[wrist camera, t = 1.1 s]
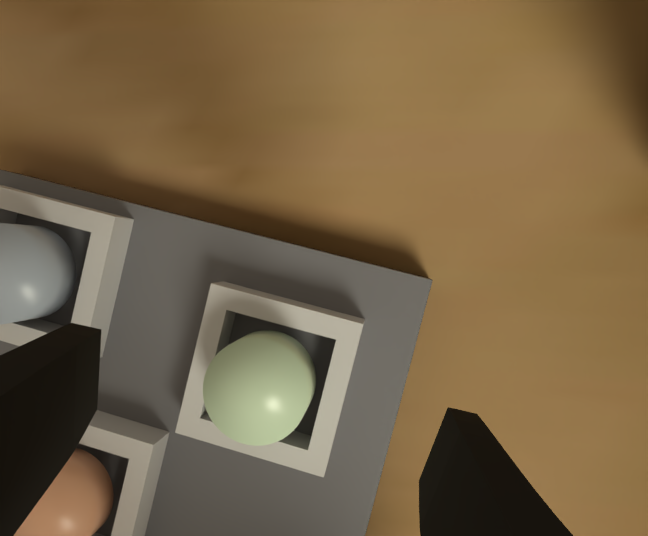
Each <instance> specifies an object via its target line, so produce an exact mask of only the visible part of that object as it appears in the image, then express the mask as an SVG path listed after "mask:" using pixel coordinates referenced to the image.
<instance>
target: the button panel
mask: <svg viewBox="0 0 648 536" xmlns="http://www.w3.org/2000/svg"><path fill="white" fill-rule="evenodd" d="M0 223H8V224H20V225H33V226H41V227H45V228H47V229H50V230H52V231H54V232H55V233H57V234H58V235H59V236H60V237H61V238H62V239H63V240H64V241H65V242H66V243H67V245H68V246H69V248H70V250H71V252H72V254H73V257H74V260H75V264H76V281H75V285H74V289H73V291H72V294H71V296H70V297H69V299H68V300H67V302H66V303H65V304H64V305H63V306H62V307H61V308H60V309H59V310H57V311H56V312H54V313H52V314H51V315H48V316H45V317H40V318H35V319H29V320H24V321H19V322H13V323H8V324H1V325H0V355H2V354H4V353H6V352H8V351H11V350H13V349H15V348H17V347H19V346H21V345H24V344H26V343H28V342H30V341H32V340H34V339H36V338H38V337H41V336H43V335H45V334H47V333H49V332H51V331H54V330H56V329H58V328H60V327H63V326H65V325H68V324H70V323H75V324H79V325H84V326H88V327H93V328H97V329H102V330H101V349H100V367H99V385H98V404H97V411H96V412H95V414H94V416H93V418H92V420H91V422H90V424H89V426H88V428H87V429H86V431H85V433H84V435H83V437H82V438H81V440H80V442H79V444H78V445H77V447H76V448H79V449H82V450H84V451H86V452H88V453H90V454H92V455H93V456H94V457H96V458H97V459H98V460H99V461H100V462H101V463H102V464H103V466H104V467H105V469H106V470H107V472H108V474H109V476H110V479H111V482H112V486H113V493H114V497H113V506H112V509H111V512H110V514H109V517H108V518H107V520H106V522H105V523H104V524H103V525H102V526H101V527H100V528H99V529H98V530H97V531H96V532H95V533H94V534H93V535H92V536H365V534H366V530H367V526H368V522H369V519H370V515H371V511H372V507H373V503H374V500H375V496H376V492H377V488H378V485H379V481H380V477H381V473H382V469H383V466H384V462H385V458H386V454H387V450H388V447H389V443H390V439H391V435H392V431H393V428H394V424H395V420H396V416H397V413H398V409H399V405H400V401H401V397H402V394H403V390H404V386H405V382H406V378H407V375H408V371H409V367H410V363H411V359H412V356H413V352H414V348H415V344H416V341H417V337H418V333H419V329H420V325H421V322H422V318H423V314H424V310H425V306H426V303H427V299H428V295H429V291H430V287H431V284H432V280H431V279H430V278H426V277H422V276H418V275H414V274H410V273H406V272H402V271H399V270H395V269H391V268H387V267H383V266H379V265H375V264H371V263H367V262H363V261H359V260H355V259H351V258H348V257H344V256H340V255H336V254H332V253H328V252H324V251H320V250H316V249H312V248H308V247H304V246H301V245H297V244H293V243H289V242H285V241H281V240H277V239H273V238H269V237H265V236H261V235H257V234H253V233H250V232H246V231H242V230H238V229H234V228H230V227H226V226H222V225H218V224H214V223H210V222H206V221H203V220H199V219H195V218H191V217H187V216H183V215H179V214H175V213H171V212H167V211H163V210H159V209H155V208H152V207H148V206H144V205H140V204H136V203H132V202H128V201H124V200H120V199H116V198H112V197H108V196H104V195H101V194H97V193H93V192H89V191H85V190H81V189H77V188H73V187H69V186H65V185H61V184H57V183H54V182H50V181H46V180H42V179H38V178H34V177H30V176H26V175H22V174H18V173H13V172H9V171H4V170H0ZM261 330H274V331H279V332H282V333H285V334H287V335H289V336H291V337H293V338H294V339H296V340H297V341H298V342H299V343H300V344H302V346H303V347H304V348H305V349H306V350H307V352H308V353H309V355H310V357H311V359H312V361H313V364H314V367H315V372H316V388H315V392H314V396H313V398H312V400H311V402H310V404H309V406H308V408H307V410H306V412H305V414H304V416H303V418H302V420H301V421H300V423H299V424H298V426H297V427H296V428H295V429H294V431H293V432H291V433H290V434H289V435H288V436H286V437H285V438H283V439H282V440H280V441H277V442H275V443H272V444H268V445H262V446H253V445H246V444H242V443H239V442H237V441H234V440H233V439H231V438H229V437H227V436H226V435H225V434H223V433H222V432H221V431H220V430H219V429H218V428H217V427H216V426H215V424H214V423H213V422H212V420H211V419H210V417H209V415H208V413H207V410H206V407H205V404H204V399H203V381H204V377H205V373H206V370H207V368H208V366H209V364H210V363H211V361H212V360H213V358H214V357H215V356H216V355H217V354H218V353H219V352H220V351H221V350H222V349H223V348H225V347H226V346H228V345H230V344H231V343H233V342H235V341H237V340H238V339H240V338H242V337H244V336H245V335H247V334H250V333H252V332H256V331H261Z"/></svg>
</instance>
